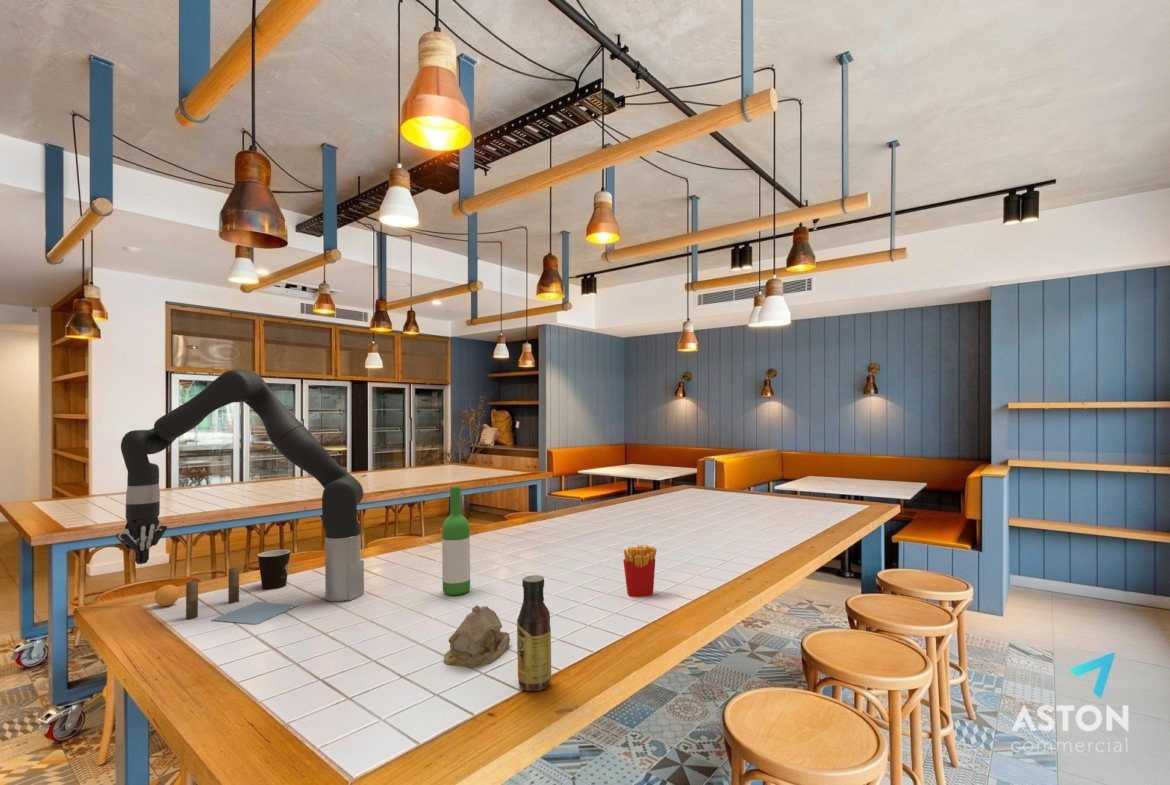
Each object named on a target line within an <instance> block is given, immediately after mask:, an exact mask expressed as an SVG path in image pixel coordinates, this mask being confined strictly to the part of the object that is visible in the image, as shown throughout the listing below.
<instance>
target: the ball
mask: <svg viewBox="0 0 1170 785" xmlns="http://www.w3.org/2000/svg"><path fill="white" fill-rule="evenodd" d="M179 597H180V590H179V588H178V587H177V586H176V585H173V584H166V585H163V586H160V587H159V588H158V589H157V591H156V592H155V594H154V601H155V603H156V604H157V605H159V606H161V607H168V606H171V605H173V604H174V603H176V602H177V601H178V599H179Z"/></svg>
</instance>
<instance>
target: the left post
mask: <svg viewBox="0 0 1170 785" xmlns="http://www.w3.org/2000/svg"><path fill="white" fill-rule="evenodd" d="M185 587H186V588H185V590H186V591H185V619H186V620H193V619H192V618H194V619H197V618H199V615H198V614H199V580H190V581H187V582H186V584H185ZM196 617H197V618H196Z"/></svg>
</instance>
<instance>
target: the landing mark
mask: <svg viewBox="0 0 1170 785" xmlns="http://www.w3.org/2000/svg"><path fill="white" fill-rule="evenodd" d="M298 605H299V604H294V603H293V604H291V603H277V602H265V601H263V602H262V601H254V602H252V603H250V604H248V605H244V606H243V607H242V606H241V607H240V608H237V609H235V610H231V611H230V612H227V613H225V614H222V615H220V616H217V617H215V618H212V619H211V620H212V621H211V622H220V621H228V622H227V623H231V622H237V623H236V624H242V623H245V624H244V625H253V624H257V625H259V624H262V623H263V621H264V622H266V621H268V620H271V619H272V617H273V618H274V617H277V616H279V615H281V613H282V614H283V612H284V613H286V612H288V611H290V610H289V609H291V607H292V608H293V607H295V608H297V607H299V606H298ZM296 606H297V607H296ZM293 609H294V608H293ZM287 610H288V611H287ZM291 610H292V609H291ZM285 611H286V612H285ZM213 620H214V621H213ZM215 620H216V621H215ZM265 620H266V621H265ZM261 622H262V623H261Z"/></svg>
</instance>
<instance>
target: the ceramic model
mask: <svg viewBox="0 0 1170 785" xmlns="http://www.w3.org/2000/svg"><path fill="white" fill-rule="evenodd" d="M502 628H503V624H502V622H501V620H500V618H499V615H497V613H496V612H495V611H494V610H492V609H491V608H489V606H487V605H486V606H485V605H482V606H481V607H480V605H475V606H473V607H472V610H471V612H470V613H468V614H467V615H466V616H465V618H464V619H463V621H462V622H461V623H460V624H459V626H458V627H457V629H456V630H455V631H454V633H452V634H451V635H450V637H449V638H448V642H449V649H448V651H446V652H445V653H444V657H443V663H444V664H446V665H450V666H451V665H452V666H461V667H466V668H475V667H481V666H485V665H488V664H491V663H493V662H495V660H497V659H498V658H500V657H501V656H502V655H503V654H504V653H505V652H507V651H506V650H508V647H509V645H510V642H511V641H510V640H511V638H510V634H509V632H507V631H501V629H502Z"/></svg>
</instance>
